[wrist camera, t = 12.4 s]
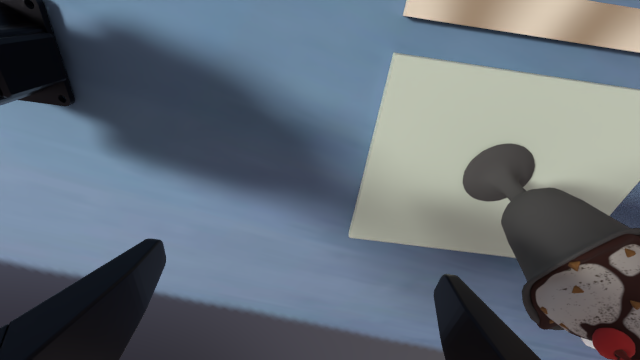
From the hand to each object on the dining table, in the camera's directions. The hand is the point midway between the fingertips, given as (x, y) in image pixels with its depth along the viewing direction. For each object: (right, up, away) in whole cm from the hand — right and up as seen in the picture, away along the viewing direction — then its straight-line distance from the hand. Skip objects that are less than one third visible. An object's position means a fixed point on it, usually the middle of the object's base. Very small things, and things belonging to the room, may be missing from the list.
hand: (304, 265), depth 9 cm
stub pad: (+14, +3, +13) cm, 19 cm away
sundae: (+14, +3, +12) cm, 19 cm away
